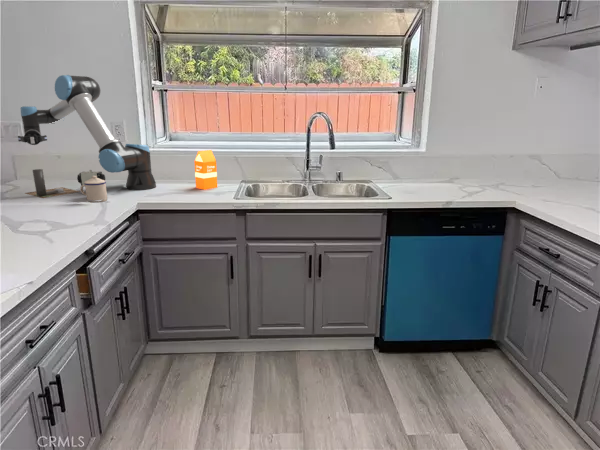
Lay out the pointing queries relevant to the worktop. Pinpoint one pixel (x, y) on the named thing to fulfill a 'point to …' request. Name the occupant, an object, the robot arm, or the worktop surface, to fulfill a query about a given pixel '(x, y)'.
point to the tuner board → (66, 191)
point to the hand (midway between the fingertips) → (32, 140)
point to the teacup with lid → (95, 189)
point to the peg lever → (42, 184)
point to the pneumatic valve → (89, 176)
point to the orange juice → (205, 170)
